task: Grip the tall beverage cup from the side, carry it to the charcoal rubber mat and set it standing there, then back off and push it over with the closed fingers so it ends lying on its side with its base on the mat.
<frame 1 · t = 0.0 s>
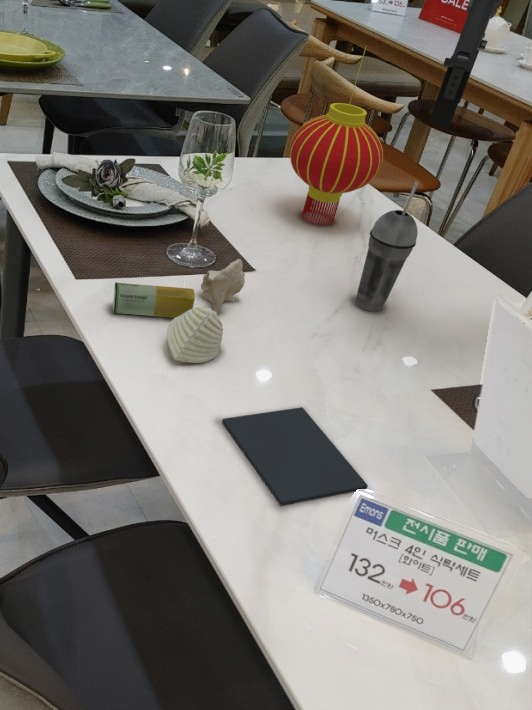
hand: (444, 112, 103), 31 cm above the table, tool pointing down, fingers open, 13 cm apart
medication box: (151, 315, 116), on the table
beverage cup: (368, 305, 127), on the table
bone: (216, 302, 121), on the table
mat: (291, 454, 95), on the table
seashell: (189, 349, 110), on the table
lantern: (316, 220, 151), on the table
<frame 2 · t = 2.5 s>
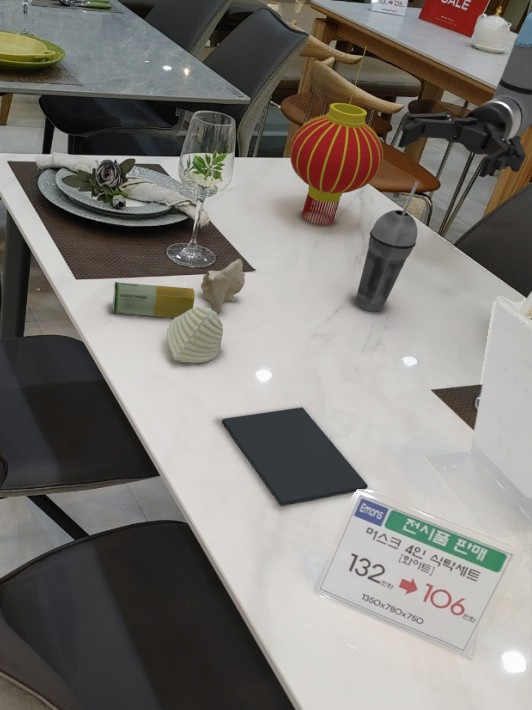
hand: (442, 152, 117), 23 cm above the table, tool horizontal, fingers open, 13 cm apart
nothing on the table moved.
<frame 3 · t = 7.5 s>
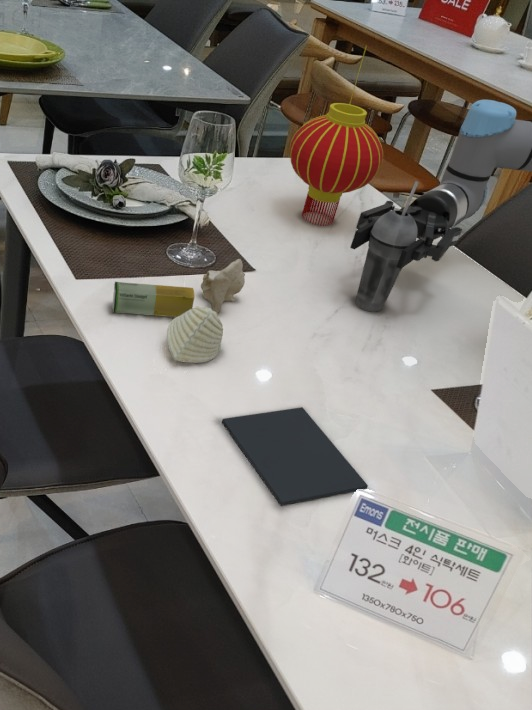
hand: (378, 249, 116), 11 cm above the table, tool horizontal, fingers closed on beverage cup, 7 cm apart
beverage cup: (368, 305, 127), on the table, touching gripper
everything else where it was.
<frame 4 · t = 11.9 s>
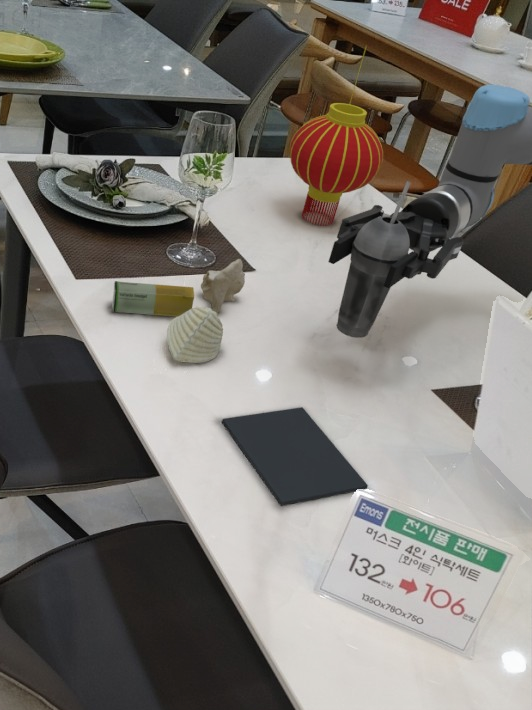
hand: (361, 264, 96), 18 cm above the table, tool horizontal, fingers closed on beverage cup, 7 cm apart
beverage cup: (351, 330, 107), point 7 cm above the table, touching gripper
everything else where it was.
when the fingers open (12 cm above the table, at t = 16.6 s): beverage cup stays where it is, resting on mat.
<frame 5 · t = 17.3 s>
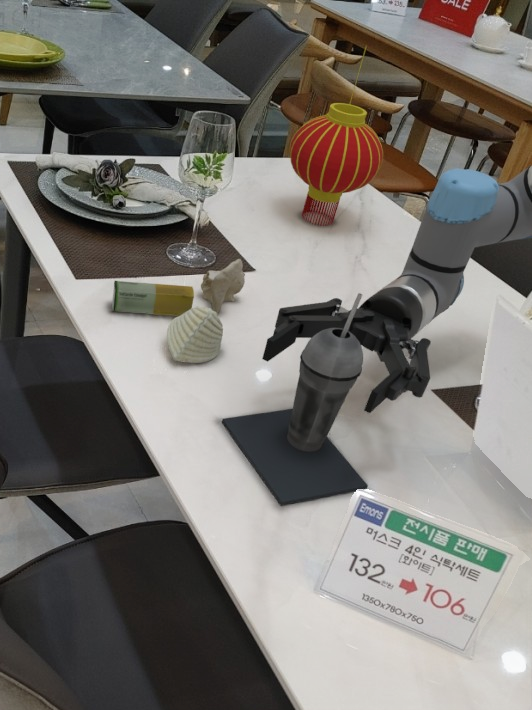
hand: (317, 375, 87), 12 cm above the table, tool horizontal, fingers open, 13 cm apart
beverage cup: (304, 441, 97), resting on mat
everything else where it was.
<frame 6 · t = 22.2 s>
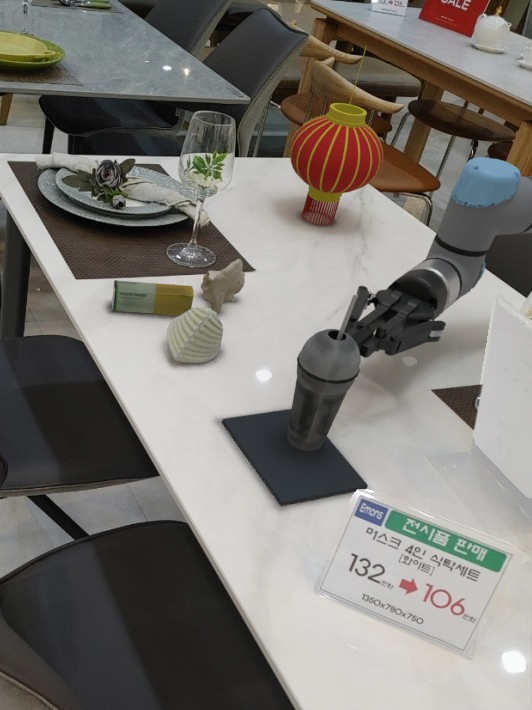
hand: (341, 356, 91), 12 cm above the table, tool horizontal, fingers closed
beverage cup: (304, 440, 97), point 1 cm above the table, touching gripper, mat
everything else where it was.
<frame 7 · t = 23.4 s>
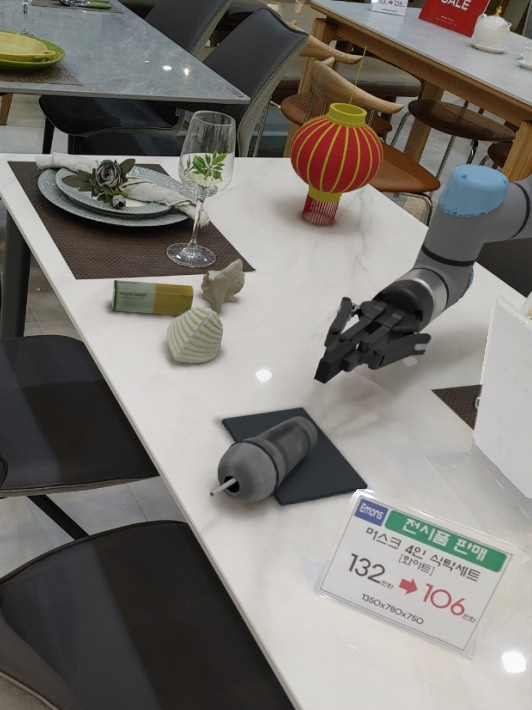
hand: (322, 371, 88), 12 cm above the table, tool horizontal, fingers closed
beverage cup: (301, 433, 94), point 3 cm above the table, touching mat
everything else where it was.
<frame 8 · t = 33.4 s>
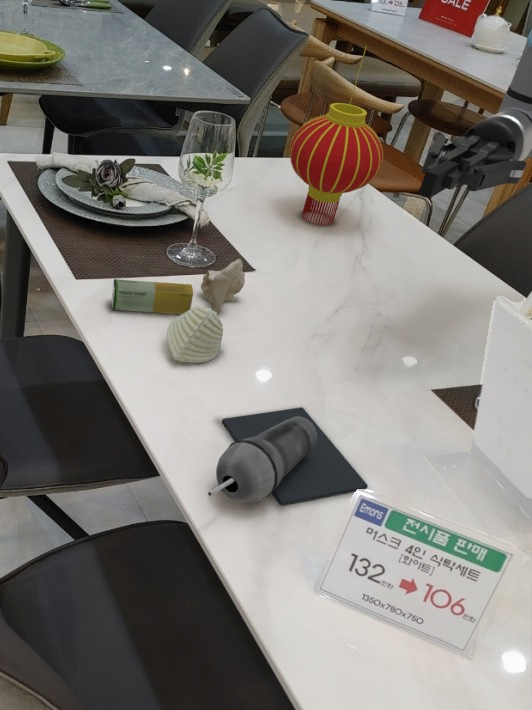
hand: (427, 184, 90), 28 cm above the table, tool horizontal, fingers closed
beverage cup: (301, 432, 94), point 3 cm above the table, touching mat
at the end: beverage cup tilted 87°; beverage cup inside the target area on the mat (0.9 cm from its centre), point 2.9 cm above the mat's base; the gripper is holding nothing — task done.
